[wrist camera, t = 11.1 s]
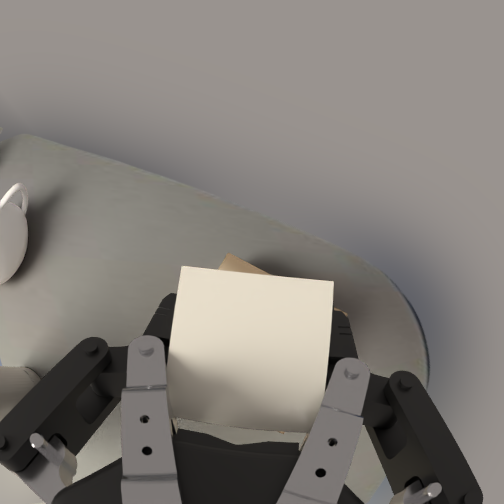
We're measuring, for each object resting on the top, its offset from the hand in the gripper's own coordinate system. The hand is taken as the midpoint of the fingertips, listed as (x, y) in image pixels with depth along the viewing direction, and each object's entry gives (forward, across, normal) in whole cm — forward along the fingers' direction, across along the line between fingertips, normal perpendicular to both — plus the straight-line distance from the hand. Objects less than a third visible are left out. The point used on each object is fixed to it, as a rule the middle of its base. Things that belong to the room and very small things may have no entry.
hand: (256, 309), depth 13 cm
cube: (+2, 0, -4) cm, 5 cm away
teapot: (+17, -42, -11) cm, 47 cm away
